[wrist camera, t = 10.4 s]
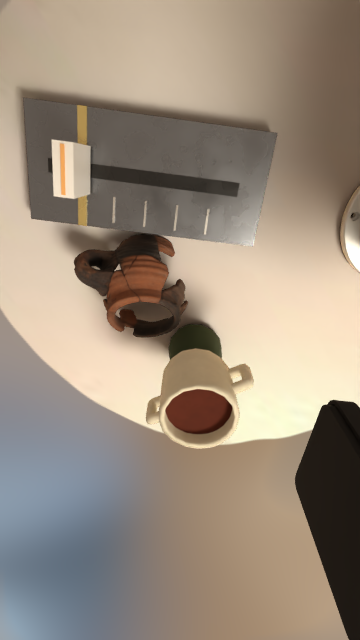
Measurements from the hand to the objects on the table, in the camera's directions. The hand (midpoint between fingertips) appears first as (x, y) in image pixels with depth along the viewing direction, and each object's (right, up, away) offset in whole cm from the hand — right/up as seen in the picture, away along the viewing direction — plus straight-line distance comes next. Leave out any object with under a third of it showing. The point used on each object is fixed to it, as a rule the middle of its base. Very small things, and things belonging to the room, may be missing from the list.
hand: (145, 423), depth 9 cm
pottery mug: (-4, +8, +28) cm, 29 cm away
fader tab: (-8, +16, +21) cm, 28 cm away
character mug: (+3, 0, +31) cm, 32 cm away
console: (-2, +17, +23) cm, 29 cm away
